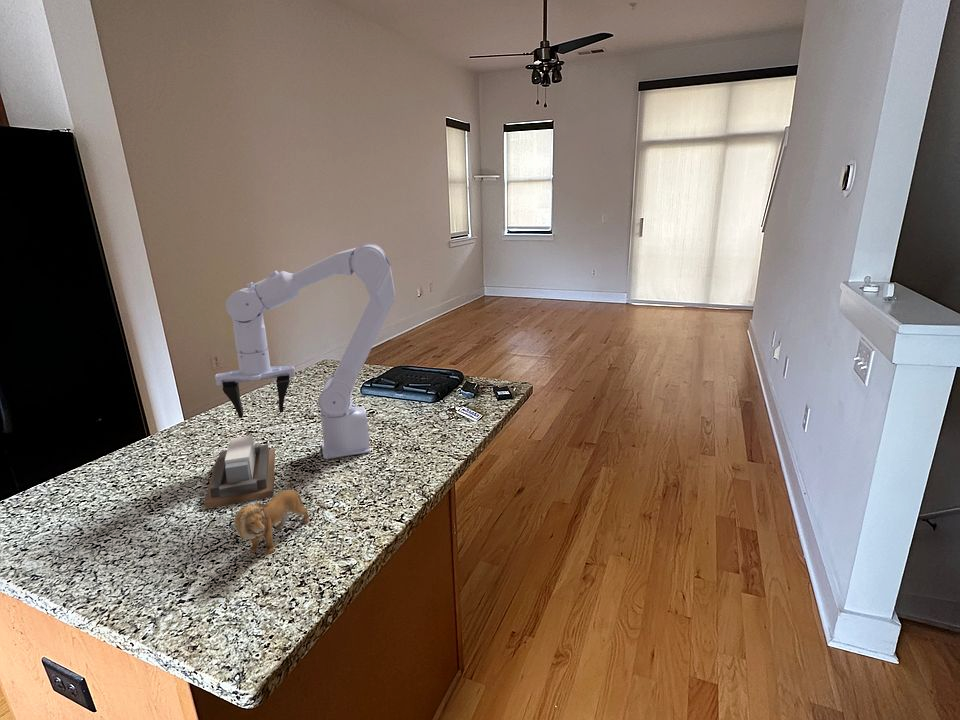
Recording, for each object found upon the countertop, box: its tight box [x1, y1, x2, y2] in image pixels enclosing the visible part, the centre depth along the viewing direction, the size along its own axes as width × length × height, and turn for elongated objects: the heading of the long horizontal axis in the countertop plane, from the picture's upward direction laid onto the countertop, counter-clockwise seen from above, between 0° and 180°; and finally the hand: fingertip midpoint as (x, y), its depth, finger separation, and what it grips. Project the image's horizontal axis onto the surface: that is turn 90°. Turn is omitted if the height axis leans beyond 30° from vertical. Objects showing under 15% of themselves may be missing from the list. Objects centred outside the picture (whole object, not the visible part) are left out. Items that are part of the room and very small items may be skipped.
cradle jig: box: [203, 443, 276, 510], centre depth 98 cm, size 11×18×3 cm, turn 20°
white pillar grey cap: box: [225, 434, 256, 484], centre depth 97 cm, size 4×12×5 cm, turn 20°
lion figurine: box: [234, 489, 310, 555], centre depth 79 cm, size 15×5×9 cm, turn 168°
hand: (261, 413), depth 105 cm, fingers open, 7 cm apart
